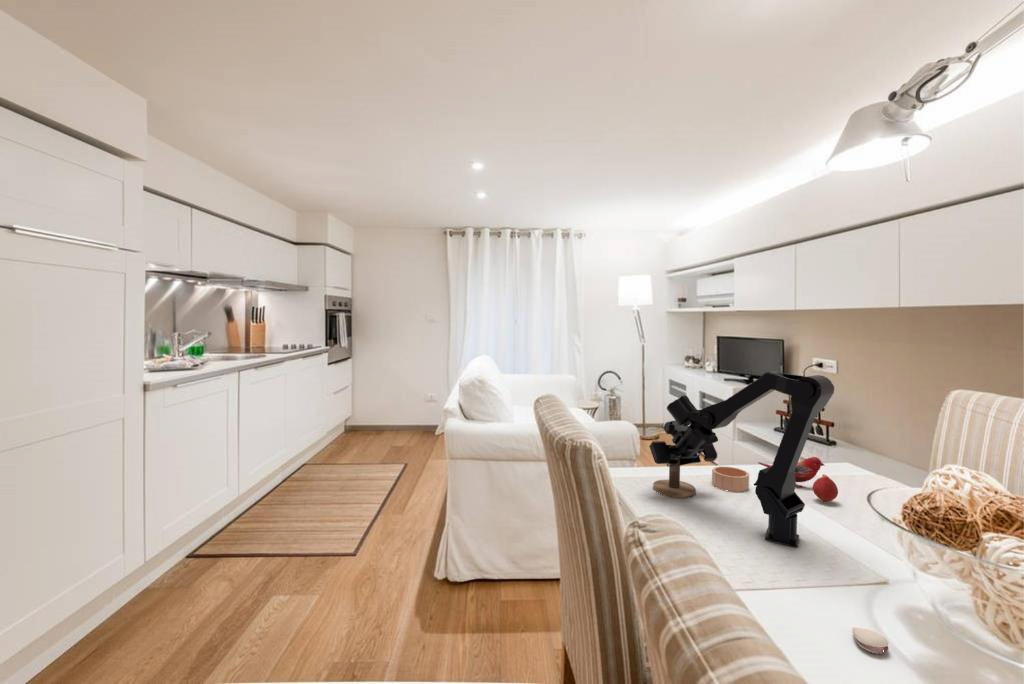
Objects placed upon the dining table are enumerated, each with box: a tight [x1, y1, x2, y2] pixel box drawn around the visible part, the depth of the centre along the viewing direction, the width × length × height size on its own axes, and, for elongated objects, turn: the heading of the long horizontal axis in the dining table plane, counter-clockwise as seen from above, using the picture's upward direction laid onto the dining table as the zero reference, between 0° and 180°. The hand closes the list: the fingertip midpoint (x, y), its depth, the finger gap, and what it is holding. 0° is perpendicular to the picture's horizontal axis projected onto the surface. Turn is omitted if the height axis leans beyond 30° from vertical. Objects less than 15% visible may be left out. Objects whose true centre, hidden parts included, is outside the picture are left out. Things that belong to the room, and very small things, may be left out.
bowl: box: [711, 465, 750, 493], centre depth 139 cm, size 10×10×4 cm
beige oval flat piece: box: [851, 627, 889, 655], centre depth 71 cm, size 4×5×2 cm
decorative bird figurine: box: [757, 456, 825, 488], centre depth 139 cm, size 3×18×10 cm, turn 64°
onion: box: [812, 473, 839, 503], centre depth 127 cm, size 6×6×8 cm
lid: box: [652, 457, 697, 499], centre depth 135 cm, size 12×12×11 cm
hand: (672, 464), depth 136 cm, fingers closed on lid, 3 cm apart
